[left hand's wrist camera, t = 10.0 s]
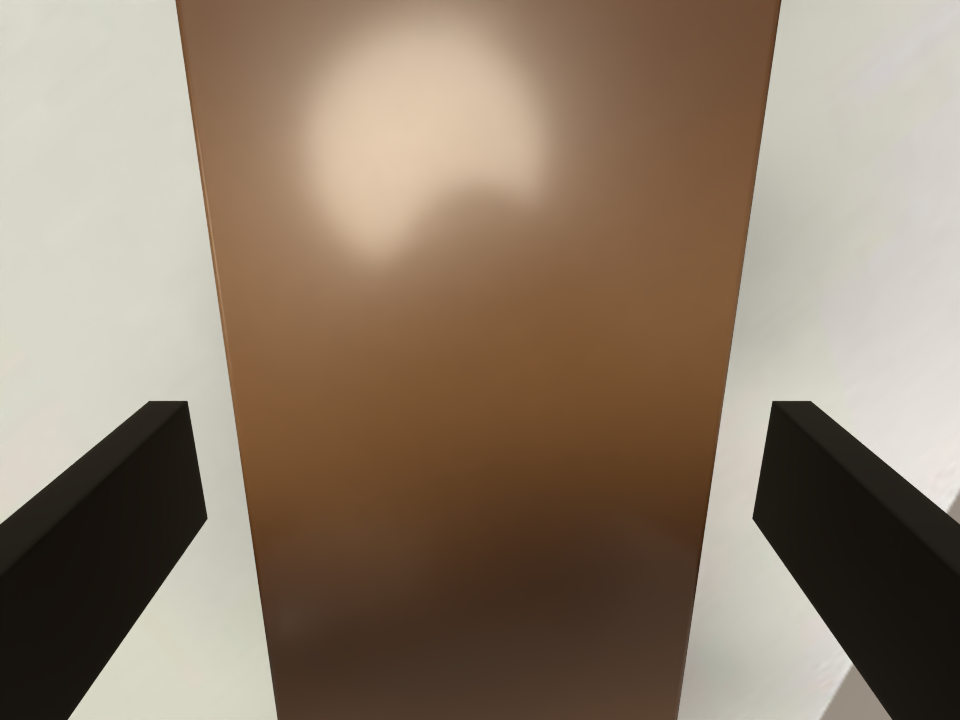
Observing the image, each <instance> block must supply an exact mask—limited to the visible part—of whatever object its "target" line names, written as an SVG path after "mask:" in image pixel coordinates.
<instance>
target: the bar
mask: <svg viewBox="0 0 960 720" xmlns="http://www.w3.org/2000/svg"><path fill="white" fill-rule="evenodd" d="M780 6H781V0H176V7H177V14H178V21H179V28H180V35H181V43H182V50H183V57H184V64H185V71H186V78H187V85H188V92H189V99H190V106H191V113H192V120H193V127H194V134H195V141H196V148H197V155H198V162H199V169H200V176H201V183H202V190H203V197H204V204H205V211H206V218H207V225H208V232H209V239H210V246H211V254H212V261H213V268H214V275H215V282H216V289H217V296H218V303H219V310H220V317H221V324H222V331H223V338H224V345H225V352H226V359H227V366H228V373H229V380H230V387H231V394H232V401H233V408H234V415H235V422H236V429H237V436H238V443H239V450H240V458H241V465H242V472H243V479H244V486H245V493H246V500H247V507H248V514H249V521H250V528H251V535H252V542H253V549H254V556H255V563H256V570H257V577H258V584H259V591H260V598H261V605H262V612H263V619H264V626H265V633H266V640H267V647H268V654H269V661H270V669H271V676H272V683H273V690H274V697H275V704H276V711H277V718H278V720H677V717H678V710H679V703H680V696H681V690H682V683H683V676H684V669H685V662H686V655H687V648H688V641H689V634H690V627H691V620H692V614H693V607H694V600H695V593H696V586H697V579H698V572H699V565H700V558H701V551H702V544H703V538H704V531H705V524H706V517H707V510H708V503H709V496H710V489H711V482H712V475H713V468H714V462H715V455H716V448H717V441H718V434H719V427H720V420H721V413H722V406H723V399H724V392H725V386H726V379H727V372H728V365H729V358H730V351H731V344H732V337H733V330H734V323H735V316H736V310H737V303H738V296H739V289H740V282H741V275H742V268H743V261H744V254H745V247H746V240H747V234H748V227H749V220H750V213H751V206H752V199H753V192H754V185H755V178H756V171H757V164H758V158H759V151H760V144H761V137H762V130H763V123H764V116H765V109H766V102H767V95H768V88H769V82H770V75H771V68H772V61H773V54H774V47H775V40H776V33H777V26H778V19H779V12H780Z"/></svg>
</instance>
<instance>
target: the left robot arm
mask: <svg viewBox="0 0 960 720" xmlns="http://www.w3.org/2000/svg"><path fill="white" fill-rule="evenodd" d="M207 519H208V518H207V512H206V506H205V501H204V495H203V489H202V483H201V477H200V471H199V466H198V460H197V454H196V448H195V442H194V436H193V431H192V425H191V419H190V413H189V407H188V401H149V402H148V403H146V404H145V405H144V406H143V407H142V408H140V409H139V410H138V411H137V412H135V413H134V414H133V415H132V416H131V417H129V418H128V419H127V420H126V421H125V422H123V423H122V424H121V425H120V426H119V427H117V428H116V429H115V430H114V431H113V432H111V433H110V434H109V435H108V436H106V437H105V438H104V439H103V440H102V441H100V442H99V443H98V444H97V445H96V446H94V447H93V448H92V449H91V450H90V451H88V452H87V453H86V454H85V455H84V456H82V457H81V458H80V459H79V460H77V461H76V462H75V463H74V464H73V465H71V466H70V467H69V468H68V469H67V470H65V471H64V472H63V473H62V474H61V475H59V476H58V477H57V478H56V479H55V480H53V481H52V482H51V483H50V484H49V485H47V486H46V487H45V488H44V489H42V490H41V491H40V492H39V493H38V494H36V495H35V496H34V497H33V498H32V499H30V500H29V501H28V502H27V503H26V504H24V505H23V506H22V507H21V508H20V509H18V510H17V511H16V512H15V513H13V514H12V515H11V516H10V517H9V518H7V519H6V520H5V521H4V522H3V523H1V524H0V720H68V718H69V717H70V716H71V714H72V713H73V711H74V710H75V708H76V707H77V705H78V704H79V703H80V701H81V700H82V698H83V697H84V695H85V694H86V693H87V691H88V690H89V688H90V687H91V685H92V684H93V682H94V681H95V680H96V678H97V677H98V675H99V674H100V672H101V671H102V670H103V668H104V667H105V665H106V664H107V662H108V661H109V660H110V658H111V657H112V655H113V654H114V652H115V651H116V649H117V648H118V647H119V645H120V644H121V642H122V641H123V639H124V638H125V637H126V635H127V634H128V632H129V631H130V629H131V628H132V626H133V625H134V624H135V622H136V621H137V619H138V618H139V616H140V615H141V614H142V612H143V611H144V609H145V608H146V606H147V605H148V603H149V602H150V601H151V599H152V598H153V596H154V595H155V593H156V592H157V591H158V589H159V588H160V586H161V585H162V583H163V582H164V580H165V579H166V578H167V576H168V575H169V573H170V572H171V570H172V569H173V568H174V566H175V565H176V563H177V562H178V560H179V559H180V558H181V556H182V555H183V553H184V552H185V550H186V549H187V547H188V546H189V545H190V543H191V542H192V540H193V539H194V537H195V536H196V535H197V533H198V532H199V530H200V529H201V527H202V526H203V524H204V523H205V522H206V520H207ZM752 519H753V520H754V522H755V523H756V524H757V526H758V527H759V529H760V530H761V532H762V533H763V535H764V536H765V537H766V539H767V540H768V542H769V543H770V545H771V546H772V547H773V549H774V550H775V552H776V553H777V555H778V556H779V557H780V559H781V560H782V562H783V563H784V565H785V566H786V568H787V569H788V570H789V572H790V573H791V575H792V576H793V578H794V579H795V580H796V582H797V583H798V585H799V586H800V588H801V589H802V591H803V592H804V593H805V595H806V596H807V598H808V599H809V601H810V602H811V603H812V605H813V606H814V608H815V609H816V611H817V612H818V614H819V615H820V616H821V618H822V619H823V621H824V622H825V624H826V625H827V626H828V628H829V629H830V631H831V632H832V634H833V635H834V637H835V638H836V639H837V641H838V642H839V644H840V645H841V647H842V648H843V649H844V651H845V652H846V654H847V655H848V657H849V658H850V659H851V661H852V662H853V664H854V665H855V667H856V668H857V670H858V671H859V672H860V674H861V675H862V677H863V678H864V680H865V681H866V682H867V684H868V685H869V687H870V688H871V690H872V691H873V692H874V694H875V695H876V697H877V698H878V700H879V701H880V703H881V704H882V705H883V707H884V708H885V710H886V711H887V713H888V714H889V715H890V717H891V718H892V720H960V524H959V523H957V522H956V521H955V520H954V519H953V518H951V517H950V516H949V515H948V514H947V513H945V512H944V511H943V510H942V509H940V508H939V507H938V506H937V505H936V504H934V503H933V502H932V501H931V500H930V499H928V498H927V497H926V496H925V495H924V494H922V493H921V492H920V491H919V490H918V489H916V488H915V487H914V486H913V485H911V484H910V483H909V482H908V481H907V480H905V479H904V478H903V477H902V476H901V475H899V474H898V473H897V472H896V471H895V470H893V469H892V468H891V467H890V466H889V465H887V464H886V463H885V462H884V461H883V460H881V459H880V458H879V457H878V456H876V455H875V454H874V453H873V452H872V451H870V450H869V449H868V448H867V447H866V446H864V445H863V444H862V443H861V442H860V441H858V440H857V439H856V438H855V437H854V436H852V435H851V434H850V433H849V432H847V431H846V430H845V429H844V428H843V427H841V426H840V425H839V424H838V423H837V422H835V421H834V420H833V419H832V418H831V417H829V416H828V415H827V414H826V413H825V412H823V411H822V410H821V409H820V408H819V407H817V406H816V405H815V404H814V403H812V402H811V401H772V407H771V413H770V419H769V425H768V431H767V436H766V442H765V448H764V454H763V460H762V466H761V471H760V477H759V483H758V489H757V495H756V501H755V506H754V512H753V518H752Z"/></svg>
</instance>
